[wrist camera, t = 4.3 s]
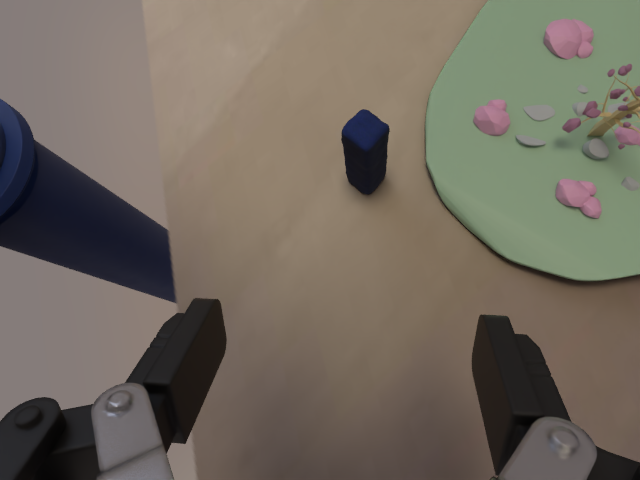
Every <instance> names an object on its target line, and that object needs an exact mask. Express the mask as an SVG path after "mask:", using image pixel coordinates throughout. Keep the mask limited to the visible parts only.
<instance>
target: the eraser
mask: <svg viewBox="0 0 640 480" xmlns="http://www.w3.org/2000/svg"><path fill="white" fill-rule="evenodd" d="M388 135H389V126H388V125H387V124H386V123H384V122H382V121H381V120H380V119H379V118H378V117H376V116H375V115H374V114H372V113H371V112H370V111H368V110H364V109H363V110H361V111H359V112H358V113H357V114H356V115H355V116H354V117H353V118H352V119H350V120H349V121H348V122H347V123H346V125H345V126H344V128H343V130H342V139H341V140H342V143H343V147H344V156H345V166H346V174H347V178H348V180H349V182H350V183H351V184H352V185H354V186H355V187H356V188H357V189H358V190H359V191H360V192H362V193H364V194H370V193H372V192H373V191H374V190H375V189H376V188H377V187H378V186H379V184H380V183H381V181H382V180H383V179H384V177H385V174H386V163H387V143H388Z"/></svg>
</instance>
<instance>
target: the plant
mask: <svg viewBox="0 0 640 480" xmlns="http://www.w3.org/2000/svg"><path fill="white" fill-rule="evenodd" d="M425 141H426V164H427V167H428V169H429V172H430V174H431V177H432V179H433V181H434V184H435V186H436V189H437V191H438V193H439V195H440V197H441V199H442V201H443V202H444V204H445V205H446V206H447V208H448V209H449V210H450V211H451V212H452V213H453V214H454V215H455V216H456V217H457V218H458V220H459V221H460V222H461V223H462V224H463V225H464V226H465V227H466V228H467V229H469V230H470V231H471V232H472V233H473V234H475V235H476V236H477V237H478V238H479V239H481V240H482V241H483V242H484V243H485V244H487V245H488V246H489V247H490V248H491V249H493V250H494V251H495V252H496V253H498V254H499V255H501V256H503V257H504V258H506V259H508V260H510V261H512V262H515V263H517V264H520V265H523V266H526V267H530V268H533V269H536V270H540V271H543V272H546V273H550V274H553V275H556V276H560V277H563V278H567V279H571V280H577V281H603V280H611V279H617V278H623V277H629V276H635V275H640V0H489V1H488V2H487V3H486V4H485V5H484V6H483V8H482V9H481V11H480V12H479V13H478V15H477V16H476V18H475V20H474V21H473V23H472V24H471V26H470V27H469V29H468V30H467V32H466V33H465V35H464V36H463V38H462V39H461V41H460V42H459V44H458V46H457V47H456V49H455V50H454V52H453V53H452V55H451V56H450V58H449V59H448V61H447V63H446V64H445V66H444V67H443V69H442V71H441V73H440V75H439V77H438V79H437V81H436V83H435V85H434V87H433V89H432V91H431V93H430V95H429V98H428V103H427V110H426V121H425Z"/></svg>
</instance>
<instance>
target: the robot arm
mask: <svg viewBox="0 0 640 480" xmlns="http://www.w3.org/2000/svg"><path fill="white" fill-rule="evenodd" d="M5 148H6V141H5V135H4V131H3V128H2V126H1V124H0V168H1V166H2V163H3V160H4V155H5ZM225 350H226V332H225V326H224V320H223V314H222V308H221V303H220V301H219V300H218V299H202V298H195V299H193V301H192V302H191V304H190V305H189V307H188V309H187V310H186V312H185V313H177V314H175V315H174V316H173V317H172V318H170V319H169V320H168V321H166V322H165V323H164V324H163V326H162V327H161V329H160V330H159V332H158V334H157V335H156V338H154V340H153V341H152V343H151V344H150V348H148V349H147V350H146V352H145V353H144V355H143V356H142V358H141V359H140V361H139V362H138V364H137V366H136V367H135V368H134V370H133V371H132V373H131V374H130V376H129V378H128V379H127V381H126V382H125V383H124V384H120V385H116V386H114V387H112V388H110V389H108V390H107V391H105V392H104V393H102V394H101V395H100V396H99V397H98V398H97V399H96V401H95V402H94V404H91V405H86V406H81V407H76V408H70V409H66V410H61V409H60V407H59V404H58V402H57V401H56V400H54V399H51V398H46V397H42V398H35V399H32V400H29V401H26V402H24V403H22V404H20V405H18V406H17V407H15V408H14V409H12V410H11V411H10V412H9V413H8V414H6V416H5V417H4V418H3V419H2V420H1V421H0V480H174V477H173V474H172V471H171V468H170V464H169V461H168V458H167V455H166V454H167V451H168V449H169V447H170V445H171V443H183V444H185V443H186V441H187V439H188V437H189V434H190V432H191V430H192V428H193V425H194V423H195V421H196V418H197V416H198V414H199V412H200V409H201V407H202V405H203V402H204V400H205V398H206V396H207V393H208V391H209V389H210V386H211V384H212V382H213V380H214V377H215V375H216V373H217V370H218V368H219V366H220V364H221V361H222V359H223V357H224V354H225ZM472 372H473V378H474V382H475V386H476V391H477V395H478V399H479V404H480V408H481V413H482V417H483V421H484V426H485V430H486V435H487V439H488V443H489V448H490V452H491V457H492V461H493V465H494V470H495V474H496V475H497V476H498V477H497V478H496V477H494V476H493V477H492V478H491V479H490V480H640V463H639V462H636V461H633V460H630V459H627V458H625V457H622V456H619V455H616V454H613V453H610V452H608V451H605V450H603V449H601V448H599V447H597V446H595V444H594V442H593V441H592V439H591V438H590V437H589V435H588V434H587V433H586V432H585V431H584V430H583V429H581V428H580V427H579V426H577V425H575V424H574V423H572V422H571V420H570V417H569V415H568V413H567V410H566V408H565V406H564V403H563V401H562V399H561V396H560V394H559V392H558V389H557V387H556V385H555V382H554V380H553V378H552V377H551V373H550V371H549V368H548V366H547V365H546V362H545V359H544V357H543V355H542V352H541V350H540V348H539V347H538V346H537V345H536V344H535V343H534V342H533V341H532V340H531V339H530V338H529V337H528V336H527V335H524V334H515V333H514V331H513V328H512V325H511V323H510V320H509V318H508V317H507V316H497V315H480V317H479V320H478V325H477V330H476V336H475V341H474V347H473V352H472Z"/></svg>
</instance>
